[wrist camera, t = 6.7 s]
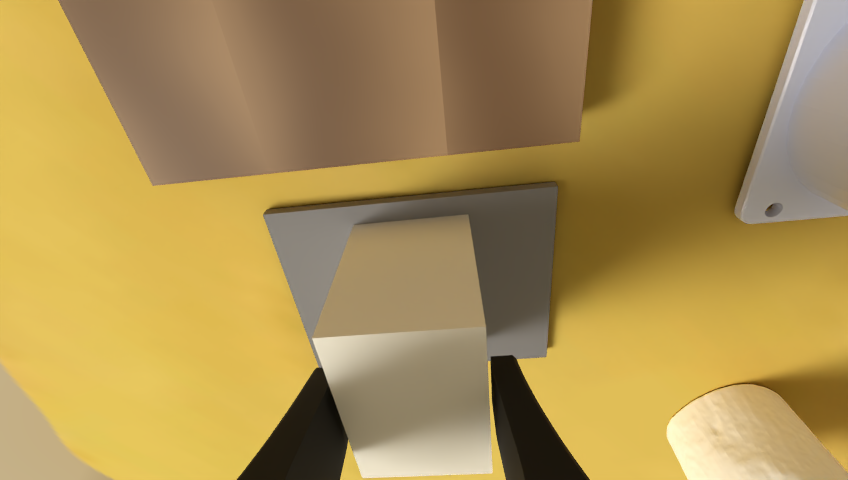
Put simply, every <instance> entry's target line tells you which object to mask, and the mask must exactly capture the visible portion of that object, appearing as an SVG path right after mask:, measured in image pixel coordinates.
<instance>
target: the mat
mask: <svg viewBox="0 0 848 480" xmlns="http://www.w3.org/2000/svg"><path fill="white" fill-rule="evenodd" d="M557 195H558V186H557V184H556V183H555V182H546V183H536V184H526V185H515V186H505V187H495V188H484V189H474V190H464V191H453V192H443V193H433V194H422V195H412V196H402V197H391V198H381V199H371V200H360V201H350V202H340V203H329V204H319V205H309V206H298V207H288V208H278V209H267V210H266V211H265V213H264V214H263V216H264V219H265V222H266V225H267V227H268V230H269V233H270V235H271V238H272V241H273V244H274V246H275V249H276V252H277V254H278V257H279V260H280V263H281V265H282V268H283V271H284V273H285V276H286V279H287V282H288V284H289V287H290V290H291V292H292V295H293V298H294V301H295V303H296V306H297V309H298V311H299V314H300V317H301V320H302V322H303V325H304V328H305V330H306V333H307V336H308V339H309V341H310V344H311V347H312V349H313V352H314V355H315V358H316V360H317V363H318V366H319V368H321V367H322V365H321V362H320V359H319V356H318V354H317V351H316V348H315V345H314V343H313V340H312V337H313V334H314V331H315V329H316V326H317V323H318V320H319V318H320V315H321V312H322V310H323V307H324V304H325V301H326V299H327V296H328V293H329V290H330V288H331V285H332V282H333V279H334V277H335V274H336V271H337V269H338V266H339V263H340V260H341V258H342V255H343V252H344V249H345V247H346V244H347V241H348V238H349V236H350V233H351V230H352V228H353V225H358V224H369V223H380V222H391V221H401V220H412V219H423V218H434V217H444V216H455V215H466V214H468V215H469V222H470V228H471V235H472V241H473V247H474V254H475V260H476V266H477V273H478V279H479V286H480V292H481V298H482V305H483V311H484V317H485V324H486V339H487V361H491V356H505V355H513V356H514V357H515V358H516V359H523V358H539V357H546V355H547V340H548V326H549V311H550V297H551V282H552V268H553V253H554V239H555V224H556V210H557Z"/></svg>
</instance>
